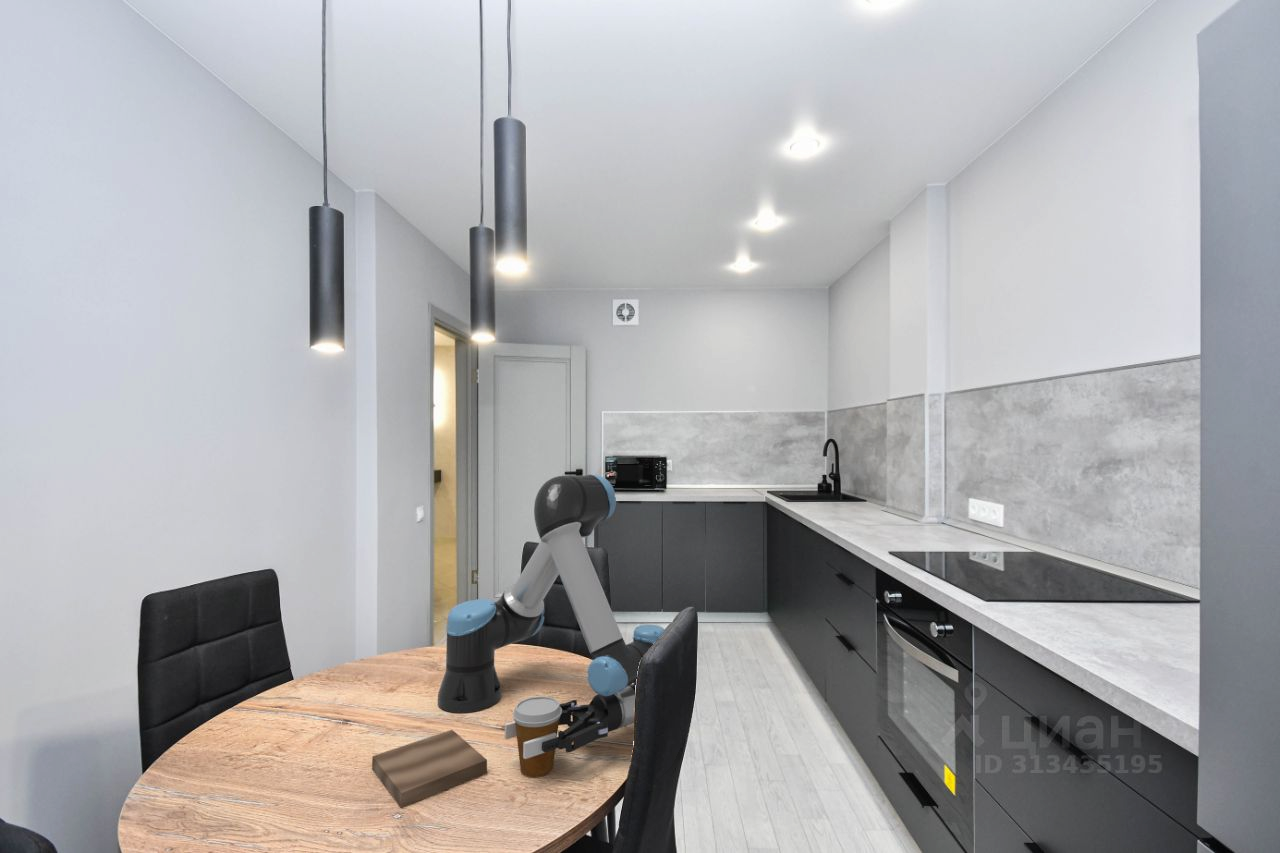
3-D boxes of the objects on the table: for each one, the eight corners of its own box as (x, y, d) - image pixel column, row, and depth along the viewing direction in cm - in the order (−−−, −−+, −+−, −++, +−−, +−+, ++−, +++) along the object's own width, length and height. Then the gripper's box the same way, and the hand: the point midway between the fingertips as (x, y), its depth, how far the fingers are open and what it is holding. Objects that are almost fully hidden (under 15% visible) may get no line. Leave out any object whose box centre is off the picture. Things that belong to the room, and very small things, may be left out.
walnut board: (372, 769, 108) (372, 756, 108) (451, 741, 119) (452, 729, 119) (401, 807, 96) (401, 793, 96) (486, 773, 107) (487, 759, 107)
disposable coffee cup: (569, 760, 111) (570, 698, 112) (546, 786, 102) (547, 719, 103) (528, 752, 115) (528, 692, 115) (502, 777, 106) (502, 712, 106)
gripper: (642, 748, 111) (538, 787, 97) (588, 709, 128) (493, 738, 114) (643, 709, 111) (539, 743, 98) (589, 676, 128) (494, 701, 115)
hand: (514, 740), depth 106 cm, fingers closed on disposable coffee cup, 8 cm apart
